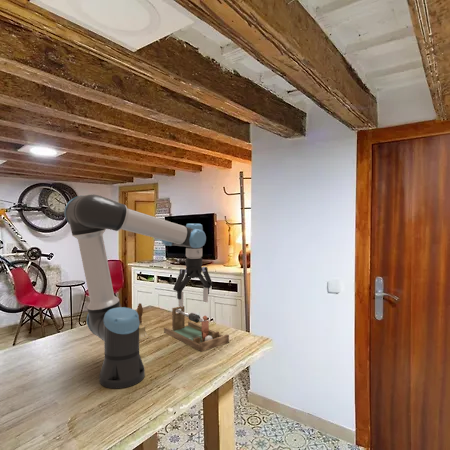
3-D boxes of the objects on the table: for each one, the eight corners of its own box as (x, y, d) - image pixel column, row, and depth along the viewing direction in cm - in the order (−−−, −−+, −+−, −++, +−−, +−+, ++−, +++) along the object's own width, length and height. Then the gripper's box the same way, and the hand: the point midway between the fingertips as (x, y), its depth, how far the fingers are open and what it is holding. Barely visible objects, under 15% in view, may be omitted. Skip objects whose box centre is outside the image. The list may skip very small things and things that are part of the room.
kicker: (203, 342, 145) (203, 317, 145) (171, 326, 166) (170, 304, 165) (209, 340, 147) (209, 315, 147) (176, 325, 168) (176, 303, 167)
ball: (202, 340, 146) (206, 346, 143) (204, 334, 144) (208, 341, 142) (208, 338, 148) (212, 344, 146) (211, 332, 146) (215, 339, 144)
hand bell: (151, 334, 159) (151, 301, 159) (145, 341, 151) (145, 306, 151) (134, 334, 160) (134, 301, 160) (127, 340, 152) (127, 305, 152)
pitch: (201, 354, 136) (200, 325, 136) (164, 334, 159) (163, 309, 159) (228, 345, 146) (228, 318, 146) (190, 327, 169) (190, 304, 169)
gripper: (174, 260, 141) (174, 310, 141) (220, 256, 157) (219, 301, 158) (165, 258, 147) (165, 306, 147) (210, 255, 163) (210, 298, 163)
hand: (193, 304), depth 152 cm, fingers open, 13 cm apart
